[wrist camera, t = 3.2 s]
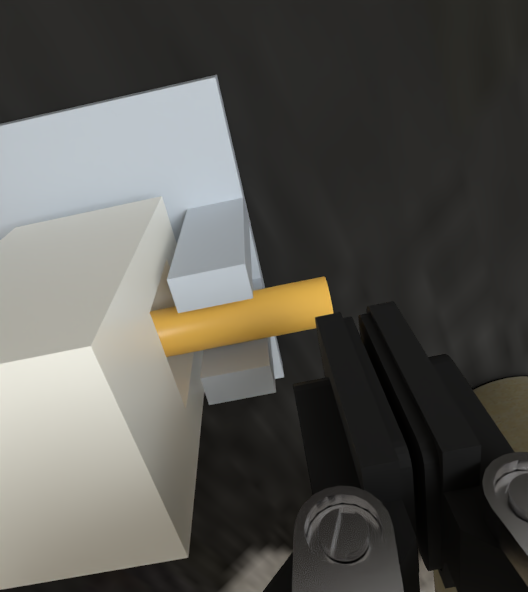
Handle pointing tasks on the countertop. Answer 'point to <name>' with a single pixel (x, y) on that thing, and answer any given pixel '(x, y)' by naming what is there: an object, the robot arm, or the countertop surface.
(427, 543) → the robot arm
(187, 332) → the grey rod holder
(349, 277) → the countertop surface
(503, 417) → the plant pot
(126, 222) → the slotted white cube
